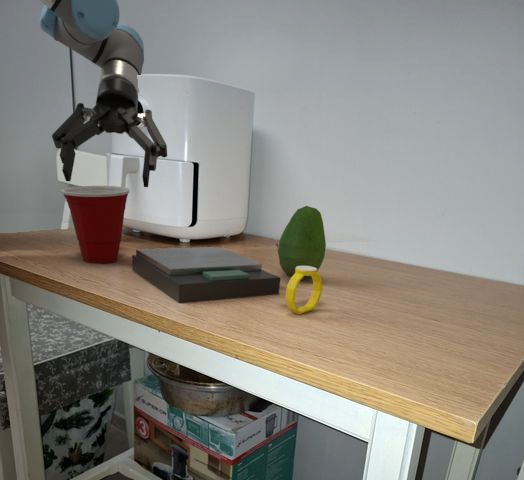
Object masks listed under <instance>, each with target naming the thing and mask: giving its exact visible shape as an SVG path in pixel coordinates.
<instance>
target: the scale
mask: <svg viewBox="0 0 524 480" xmlns="http://www.w3.org/2000/svg"><path fill="white" fill-rule="evenodd" d="M131 260H132V261H131V262H132V263H131V268H132V269H131V270H132V271H133V272H134V273H136V274H137V275H139V276H140V277H141V278H143V279H144V280H145V281H147V282H149V283H150V284H151V285H153V286H154V287H156V288H157V289H158V290H160V291H161V292H163V293H165V294H166V295H167V296H169V297H170V298H171V299H173V300H174V301H176V302H177V303H178V304H179V303H189V302H190V303H191V302H203V301H214V300H223V299H225V300H226V299H238V298H247V297H248V298H249V297H258V296H269V295H270V296H271V295H279V294H280V286H281V285H280V284H281V277H279V276H278V275H275V274H274V273H270V272H268V271H267V270H263V268H262V267H263V265H262V263H259V262H257V261H254V260H252V259H250V258H247V257H245V256H242V255H240V254H237V253H235V252H232V251H231V250H227V249H225V248H222V247H221V246H209V247H171V248H170V247H169V248H167V247H165V248H136V249H135V254H132V255H131Z"/></svg>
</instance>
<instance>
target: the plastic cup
mask: <svg viewBox="0 0 524 480" xmlns="http://www.w3.org/2000/svg"><path fill="white" fill-rule="evenodd" d="M130 191H131V189H130V188H128V187H124V186H116V185H80V186H79V185H78V186H70V187H65V188H61V189H60V192H61V194H62V195H63V196H64V198H65V201H66V203H67V206H68V209H69V211H70V216H71V220H72V223H73V227H74V232H75V236H76V240H77V242H78V246H79V251H80V255H81V257H82V260H83V261H85V262H87V263H92V264H93V263H94V264H110V263H115V262H117V261H118V258H119V253H120V247H121V242H122V235H123V226H124V218H125V210H126V205H127V200H128V196H129V194H130Z"/></svg>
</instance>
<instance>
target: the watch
mask: <svg viewBox="0 0 524 480" xmlns="http://www.w3.org/2000/svg"><path fill="white" fill-rule="evenodd" d="M304 276H311V279H312V291H311V293H310V296H309V297H310V298H309V300H308V301H307V302H306V304H305V305H302V306H300V307H298V308H297V304H296V301H295V300H296V292H297V289H298V287H299V284H300V282H301V279H302V278H303V277H304ZM322 292H323V280H322V278H321V275H320V273H319V272H318V271H317V268H315V267H311V266H297V267H296V268H295V274H294V275H293V276H292V277H290V279H289V280H288V284H287V286H286V289H285V298H284V299H285V303H286V306H287V309H288V310H289V311H290V312H291V313H294V314H296V315H302V314H305V313H308V312H310V311H314V310H315V308H317V305H318V303H319V302H320V299H321V296H322Z"/></svg>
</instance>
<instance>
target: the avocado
mask: <svg viewBox="0 0 524 480" xmlns="http://www.w3.org/2000/svg"><path fill="white" fill-rule="evenodd" d="M288 221H289V222H288V223H287V225H286V226H285V228H284V229H283V231H282V234H281V236H280V238H279V242H278V248H277V254H278V263H279V266H280V268H281V270H282V271H283V273H284V274H285V276H287V277H289V278H291V277H292V276H293V275H294V274H295V268H296V267H297V266H311V267H315V268H317V272H318V271H319V270H320V268H321V266H322V264H323V262H324V259H325V256H326V248H327V242H326V236H325V235H326V234H325V225H324V221H323V217H322V213H321V212H320V211H319V209H317V208H316V207H313V206H308V205H305V206H302V207H300V208H298V209H297V210H296V211H295V212H294V213H293V214H292V216H291V218H290V220H288ZM309 278H312V276H304V277H303V278H302V279H301V280H306V279H309ZM301 280H300V281H301Z"/></svg>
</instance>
